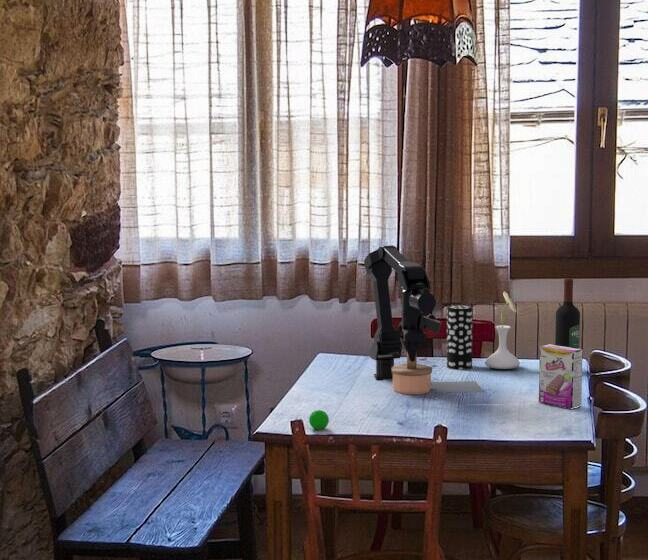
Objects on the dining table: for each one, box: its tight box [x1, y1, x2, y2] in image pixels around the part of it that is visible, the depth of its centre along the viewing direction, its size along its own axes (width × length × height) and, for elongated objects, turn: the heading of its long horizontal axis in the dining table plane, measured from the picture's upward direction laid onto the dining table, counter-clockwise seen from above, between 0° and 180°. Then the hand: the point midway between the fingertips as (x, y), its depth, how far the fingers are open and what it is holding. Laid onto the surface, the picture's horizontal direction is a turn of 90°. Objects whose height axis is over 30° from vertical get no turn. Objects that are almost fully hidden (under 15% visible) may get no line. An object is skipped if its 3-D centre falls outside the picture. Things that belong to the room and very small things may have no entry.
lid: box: [392, 351, 433, 376], centre depth 302 cm, size 12×12×6 cm
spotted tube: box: [446, 304, 474, 371], centre depth 336 cm, size 8×8×20 cm
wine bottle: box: [554, 278, 581, 349], centre depth 326 cm, size 8×8×30 cm
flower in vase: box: [484, 291, 521, 370], centre depth 334 cm, size 13×11×25 cm
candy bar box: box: [538, 343, 584, 409], centre depth 284 cm, size 11×5×16 cm, turn 44°
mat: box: [431, 380, 485, 394], centre depth 307 cm, size 14×14×1 cm
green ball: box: [308, 409, 330, 431], centre depth 262 cm, size 5×5×5 cm
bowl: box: [392, 373, 432, 395], centre depth 303 cm, size 11×11×6 cm
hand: (411, 360), depth 302 cm, fingers open, 3 cm apart
